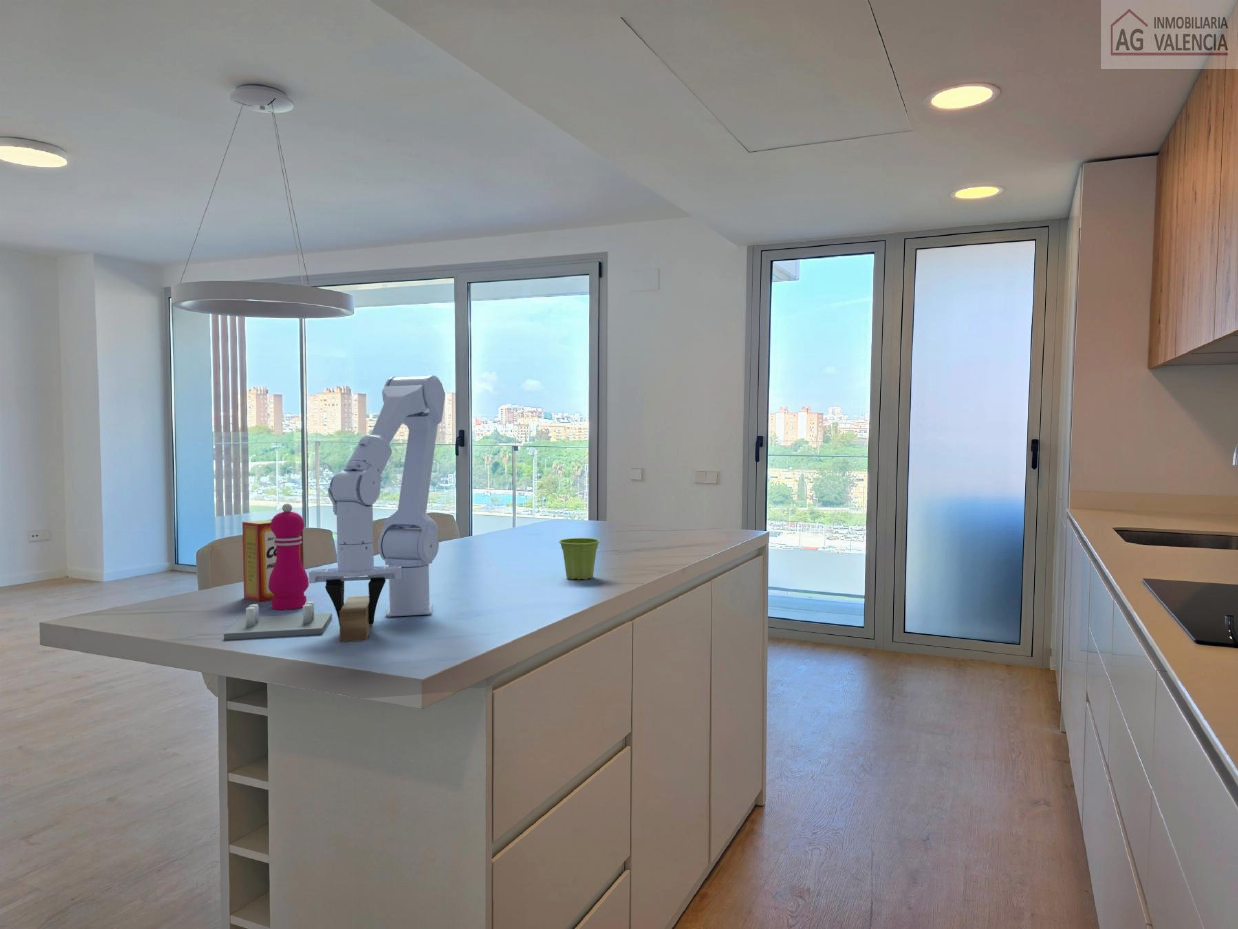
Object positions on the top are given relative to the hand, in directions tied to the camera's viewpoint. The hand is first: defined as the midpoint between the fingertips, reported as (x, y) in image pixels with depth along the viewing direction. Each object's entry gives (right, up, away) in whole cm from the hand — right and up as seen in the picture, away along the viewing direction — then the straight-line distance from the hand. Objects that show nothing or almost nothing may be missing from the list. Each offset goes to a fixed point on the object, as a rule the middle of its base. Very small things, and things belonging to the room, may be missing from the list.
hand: (356, 623), depth 133 cm
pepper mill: (-20, -1, +21) cm, 29 cm away
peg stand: (-14, -1, +3) cm, 14 cm away
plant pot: (+35, 0, +51) cm, 62 cm away
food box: (-28, -1, +32) cm, 42 cm away
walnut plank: (0, -2, 0) cm, 2 cm away
